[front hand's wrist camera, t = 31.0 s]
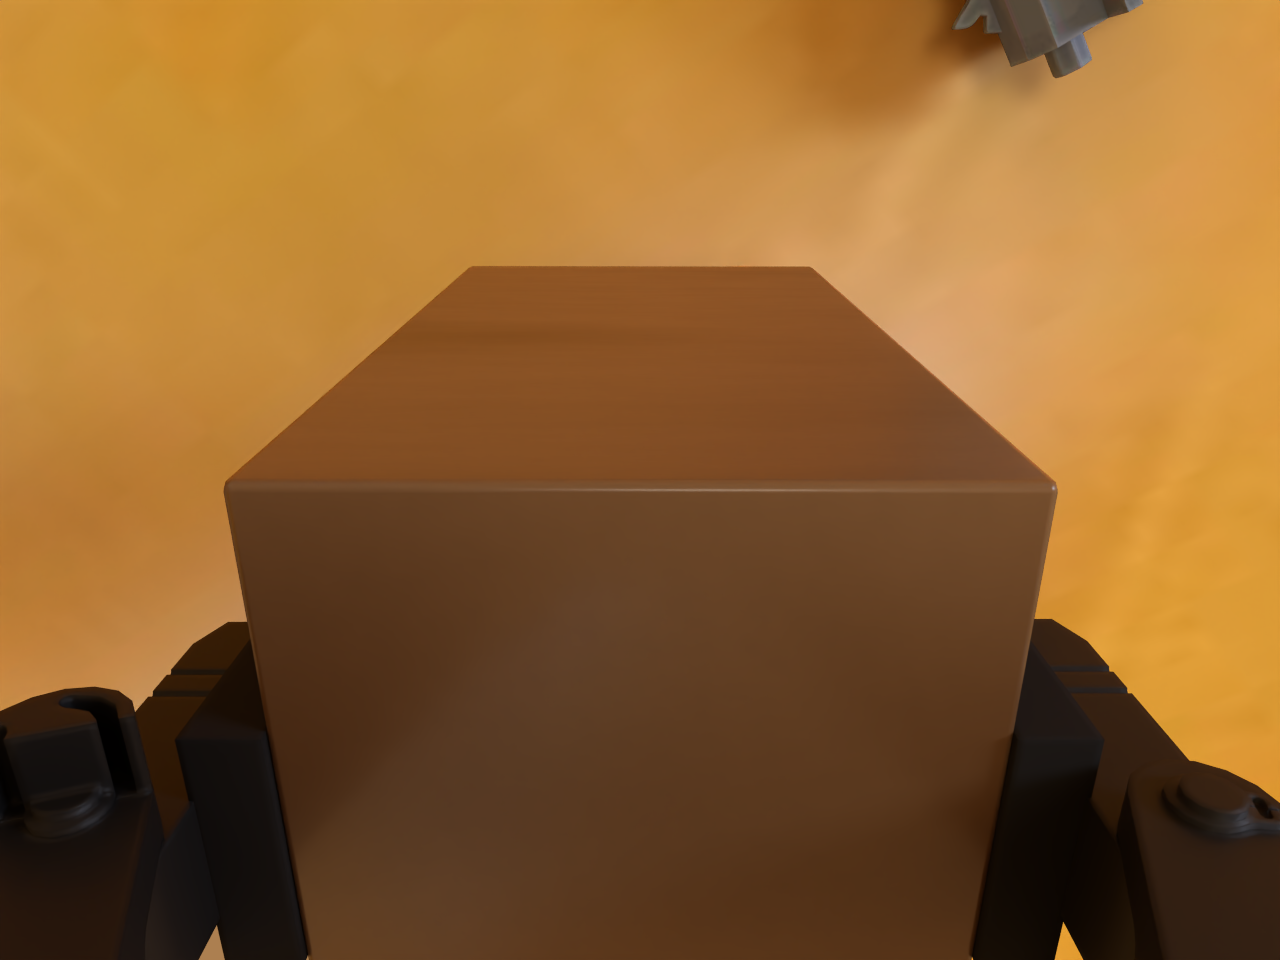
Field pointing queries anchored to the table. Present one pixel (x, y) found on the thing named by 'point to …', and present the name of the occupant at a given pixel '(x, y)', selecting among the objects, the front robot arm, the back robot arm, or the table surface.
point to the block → (640, 627)
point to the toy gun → (1043, 27)
